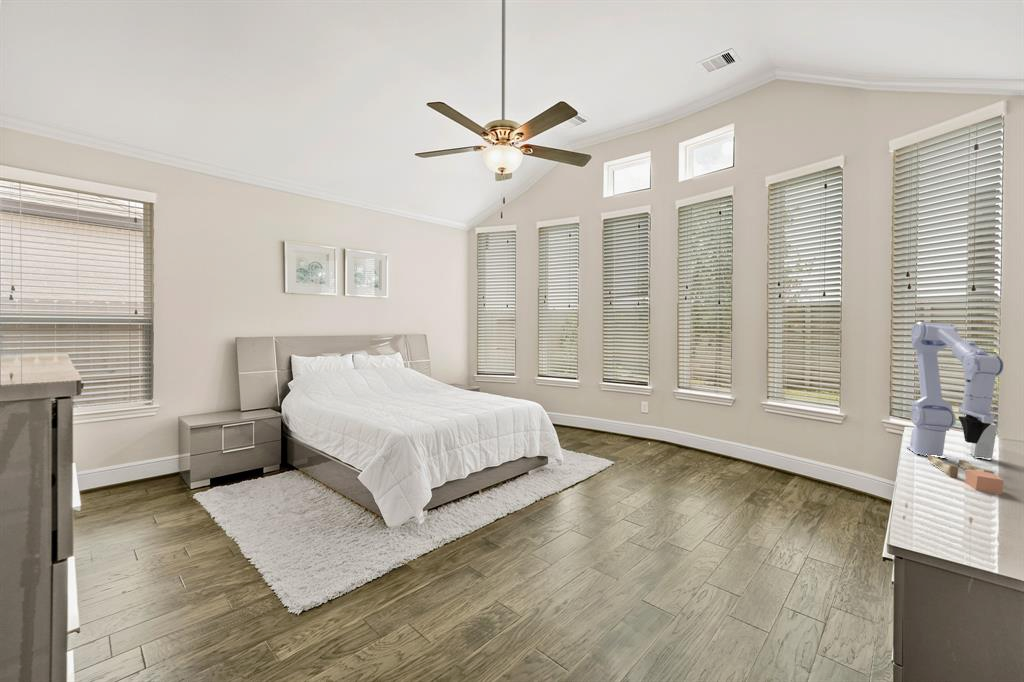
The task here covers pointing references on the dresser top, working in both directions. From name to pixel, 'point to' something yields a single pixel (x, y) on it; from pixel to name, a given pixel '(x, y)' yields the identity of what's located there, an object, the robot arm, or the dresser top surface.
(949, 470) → the chute
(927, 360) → the robot arm
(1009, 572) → the dresser top surface
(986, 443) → the skincare box
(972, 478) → the block
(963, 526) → the dresser top surface
